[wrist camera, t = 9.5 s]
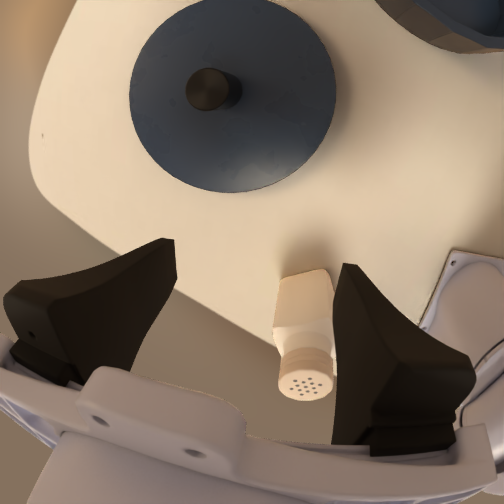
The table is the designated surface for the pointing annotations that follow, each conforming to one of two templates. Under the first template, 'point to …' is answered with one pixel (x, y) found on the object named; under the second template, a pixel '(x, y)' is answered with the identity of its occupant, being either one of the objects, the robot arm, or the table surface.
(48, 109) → the table surface
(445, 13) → the pot
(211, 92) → the lid
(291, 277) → the salt shaker
